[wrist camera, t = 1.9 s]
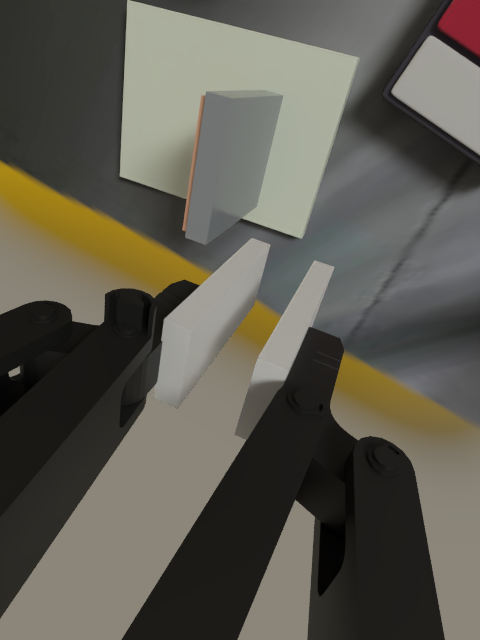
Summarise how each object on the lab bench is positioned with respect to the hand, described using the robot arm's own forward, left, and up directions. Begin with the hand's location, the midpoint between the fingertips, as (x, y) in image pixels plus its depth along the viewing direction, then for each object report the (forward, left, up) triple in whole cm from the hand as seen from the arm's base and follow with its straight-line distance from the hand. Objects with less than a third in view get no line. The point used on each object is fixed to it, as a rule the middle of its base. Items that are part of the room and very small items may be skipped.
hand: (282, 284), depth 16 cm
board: (+12, -1, -22) cm, 25 cm away
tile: (+8, 0, -21) cm, 23 cm away
